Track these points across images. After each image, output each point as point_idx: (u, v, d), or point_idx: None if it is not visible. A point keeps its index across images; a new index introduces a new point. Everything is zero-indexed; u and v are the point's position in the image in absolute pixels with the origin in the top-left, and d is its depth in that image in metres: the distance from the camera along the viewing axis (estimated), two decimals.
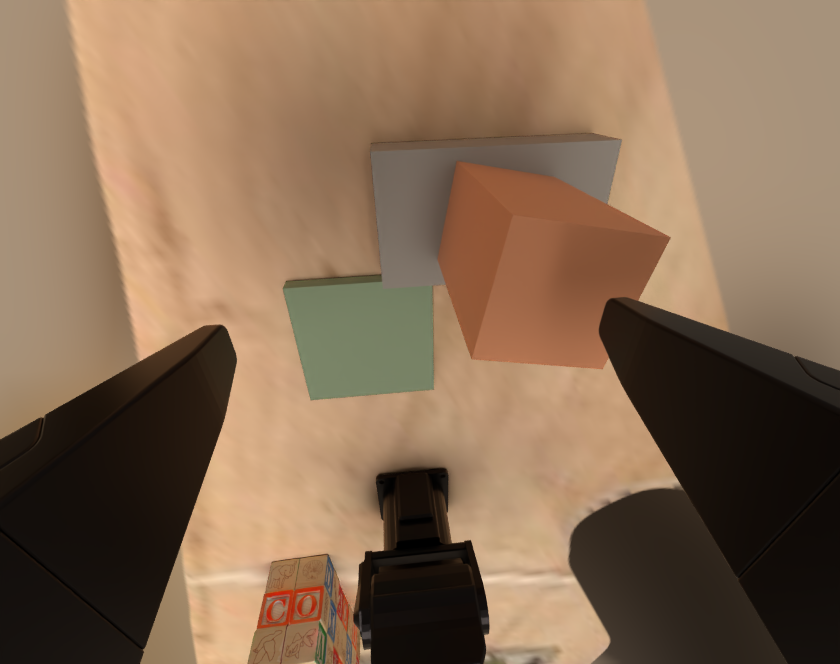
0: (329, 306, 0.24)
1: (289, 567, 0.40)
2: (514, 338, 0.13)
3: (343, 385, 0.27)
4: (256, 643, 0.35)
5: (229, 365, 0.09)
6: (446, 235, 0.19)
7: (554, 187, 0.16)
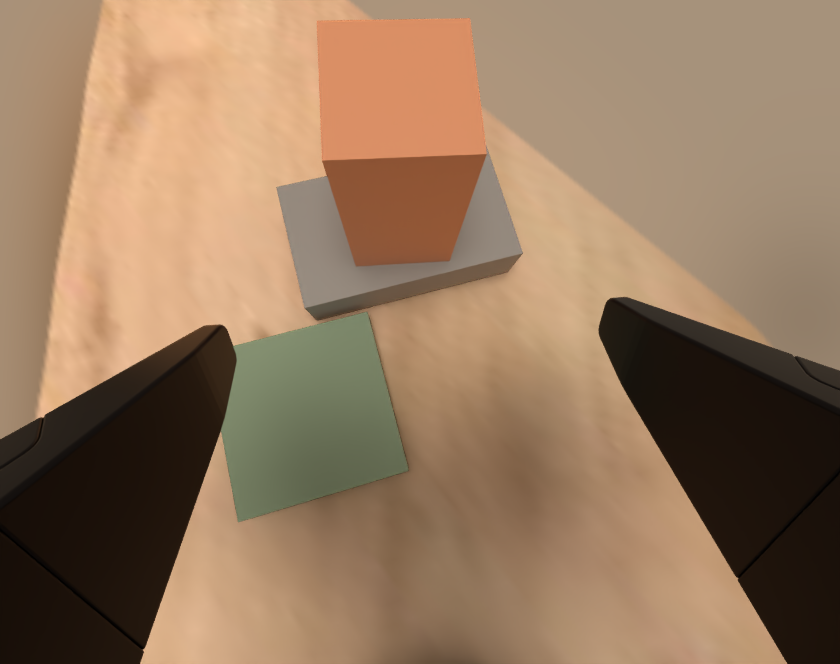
0: (259, 366, 0.21)
1: None
2: (363, 129, 0.12)
3: (282, 486, 0.20)
4: None
5: (229, 365, 0.09)
6: None
7: None
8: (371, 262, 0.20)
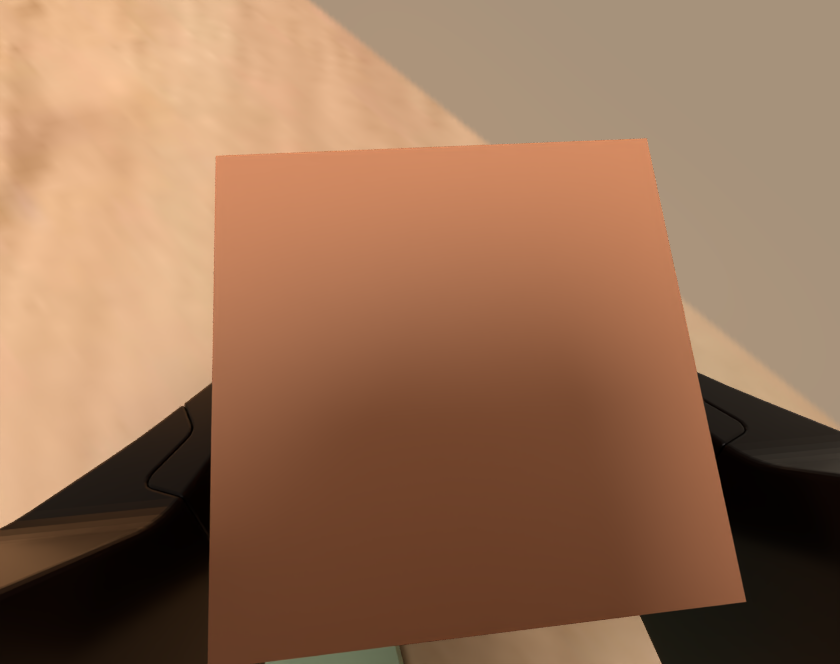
0: None
1: None
2: (348, 532, 0.04)
3: None
4: None
5: None
6: None
7: None
8: None
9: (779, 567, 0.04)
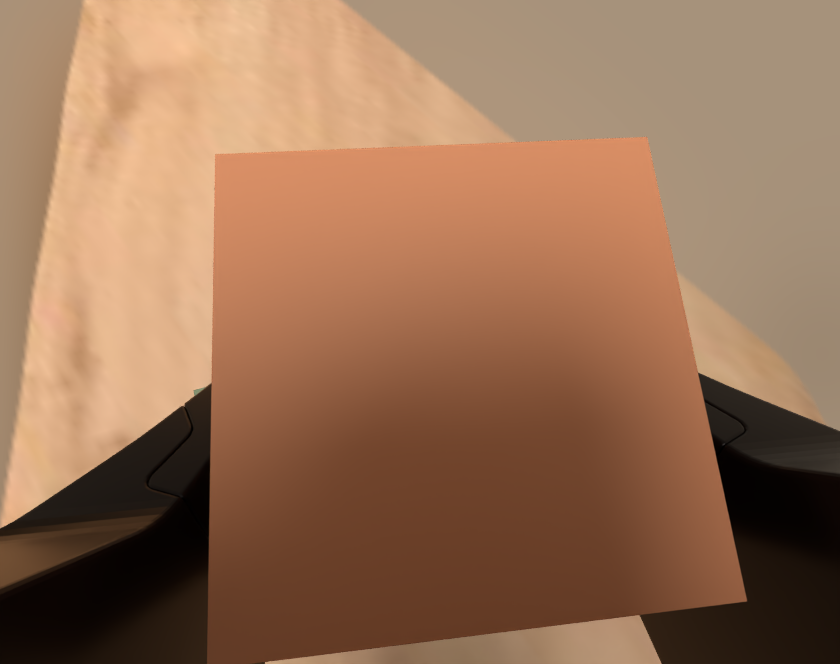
0: None
1: None
2: (348, 531, 0.04)
3: None
4: None
5: None
6: None
7: None
8: None
9: (780, 566, 0.04)
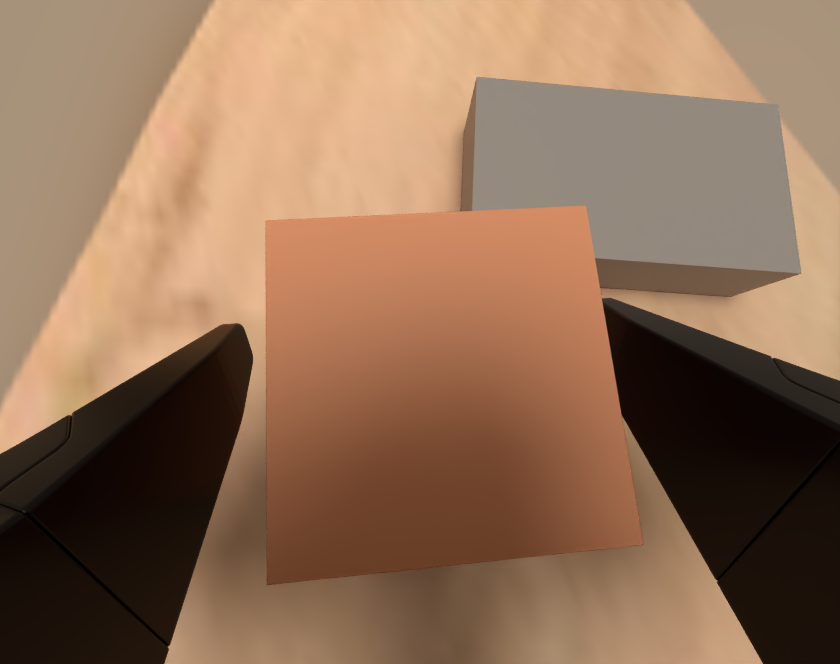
0: None
1: None
2: (363, 493, 0.05)
3: None
4: None
5: (246, 364, 0.09)
6: None
7: None
8: None
9: None
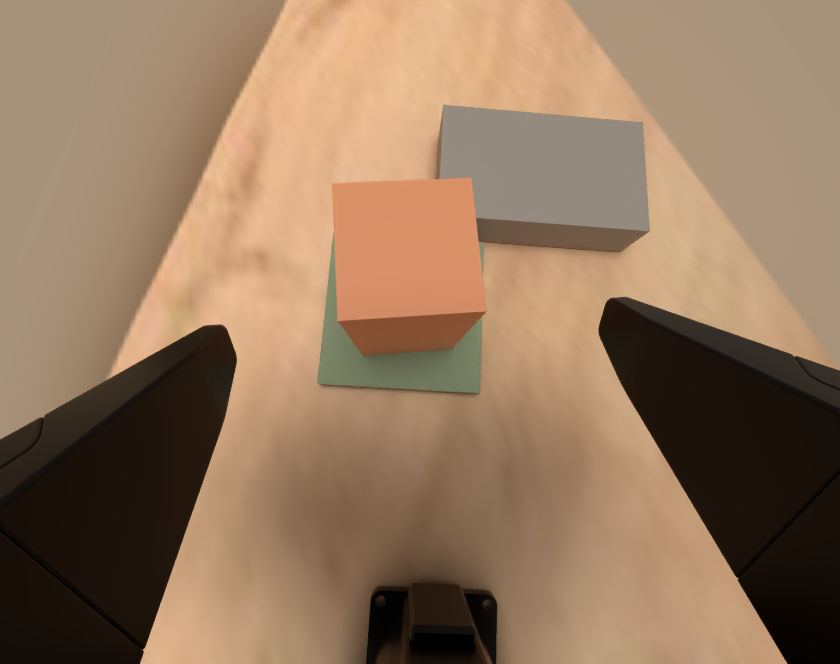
0: None
1: None
2: (374, 290, 0.13)
3: (364, 366, 0.21)
4: None
5: (229, 365, 0.09)
6: None
7: None
8: (377, 353, 0.21)
9: None
